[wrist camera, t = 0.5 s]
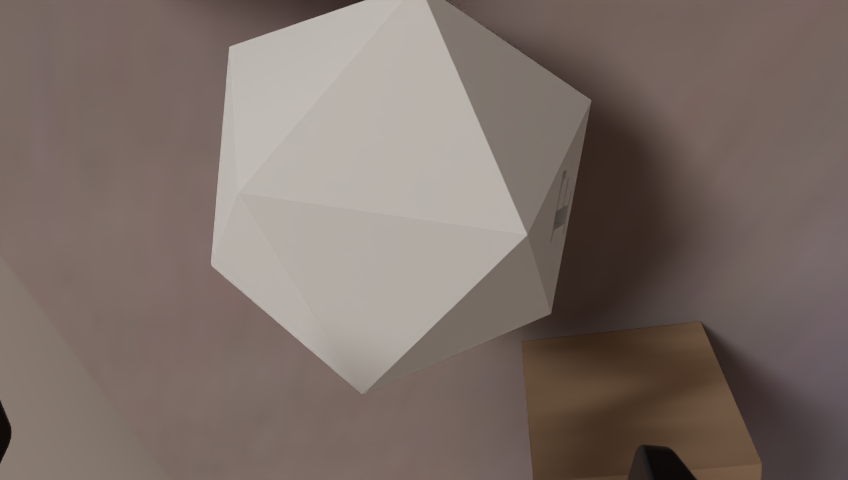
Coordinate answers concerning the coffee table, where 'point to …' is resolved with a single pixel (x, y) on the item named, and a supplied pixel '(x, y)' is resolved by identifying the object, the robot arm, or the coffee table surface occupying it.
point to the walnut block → (632, 405)
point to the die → (394, 184)
